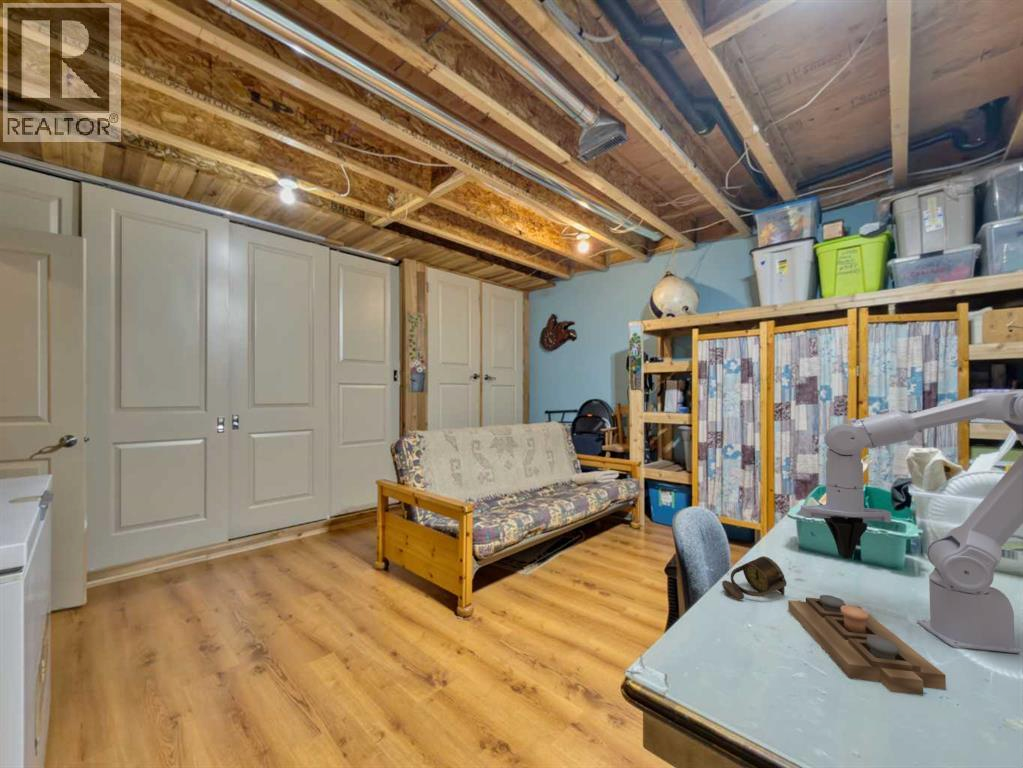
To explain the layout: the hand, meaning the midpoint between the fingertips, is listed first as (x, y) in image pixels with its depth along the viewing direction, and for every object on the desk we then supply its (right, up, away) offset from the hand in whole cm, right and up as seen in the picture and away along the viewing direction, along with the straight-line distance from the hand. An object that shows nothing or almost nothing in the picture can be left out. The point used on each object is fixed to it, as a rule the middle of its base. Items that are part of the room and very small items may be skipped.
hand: (845, 556), depth 82 cm
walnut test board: (-7, -10, -11) cm, 17 cm away
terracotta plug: (-7, -8, -11) cm, 15 cm away
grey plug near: (-9, -9, -18) cm, 22 cm away
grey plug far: (-6, -10, -4) cm, 12 cm away
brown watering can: (-14, -11, +8) cm, 19 cm away
